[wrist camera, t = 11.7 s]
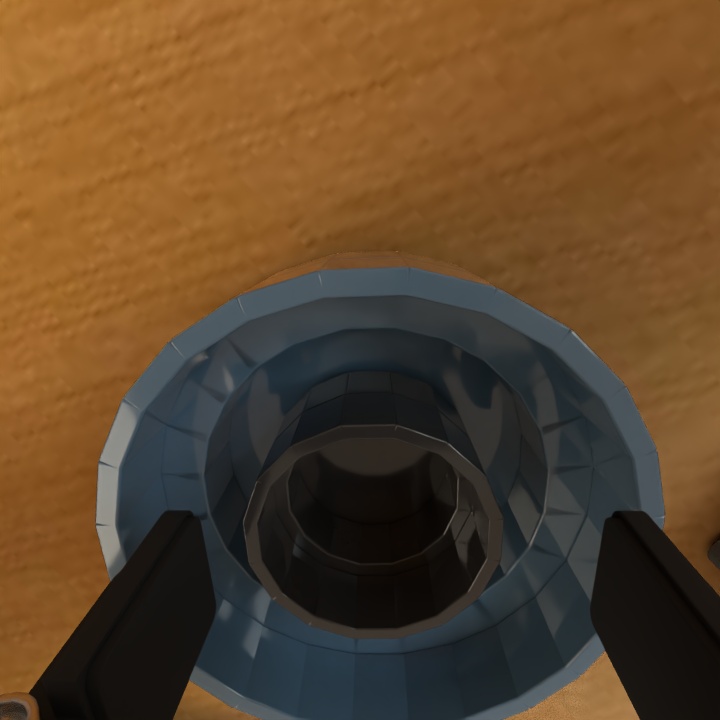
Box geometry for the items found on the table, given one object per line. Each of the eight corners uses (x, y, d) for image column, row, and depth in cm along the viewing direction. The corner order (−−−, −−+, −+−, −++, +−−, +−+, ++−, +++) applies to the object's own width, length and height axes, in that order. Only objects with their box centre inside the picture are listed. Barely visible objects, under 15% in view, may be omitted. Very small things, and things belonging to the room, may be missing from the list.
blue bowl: (364, 150, 13) (357, 107, 8) (649, 439, 16) (783, 547, 11) (111, 450, 17) (-7, 555, 12) (380, 648, 19) (383, 805, 14)
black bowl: (368, 324, 14) (366, 369, 10) (507, 452, 16) (558, 539, 11) (241, 457, 16) (192, 544, 12) (376, 563, 17) (377, 675, 13)
